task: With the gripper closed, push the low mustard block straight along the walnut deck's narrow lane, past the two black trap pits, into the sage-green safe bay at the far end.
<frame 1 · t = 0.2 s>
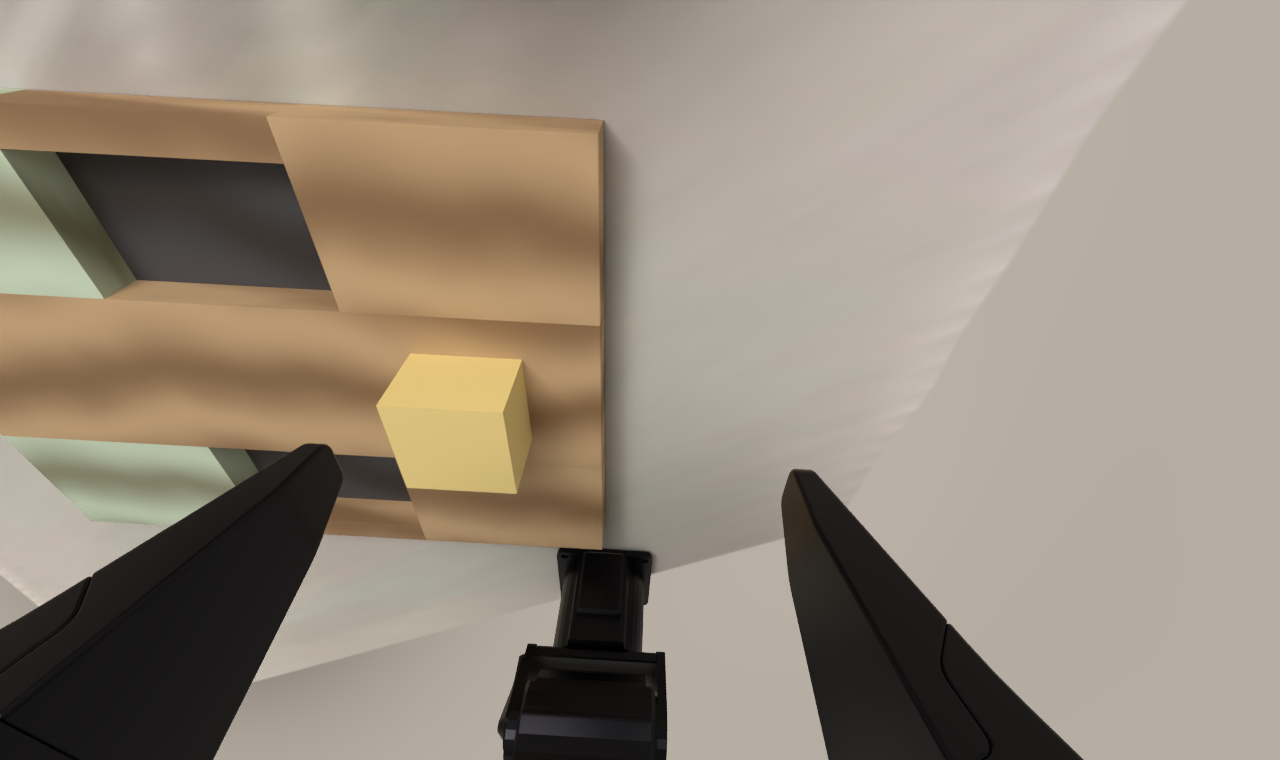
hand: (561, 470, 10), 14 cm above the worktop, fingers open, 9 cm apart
trap deck: (329, 364, 26), on the worktop
mustard block: (475, 398, 24), point 2 cm above the worktop, touching trap deck
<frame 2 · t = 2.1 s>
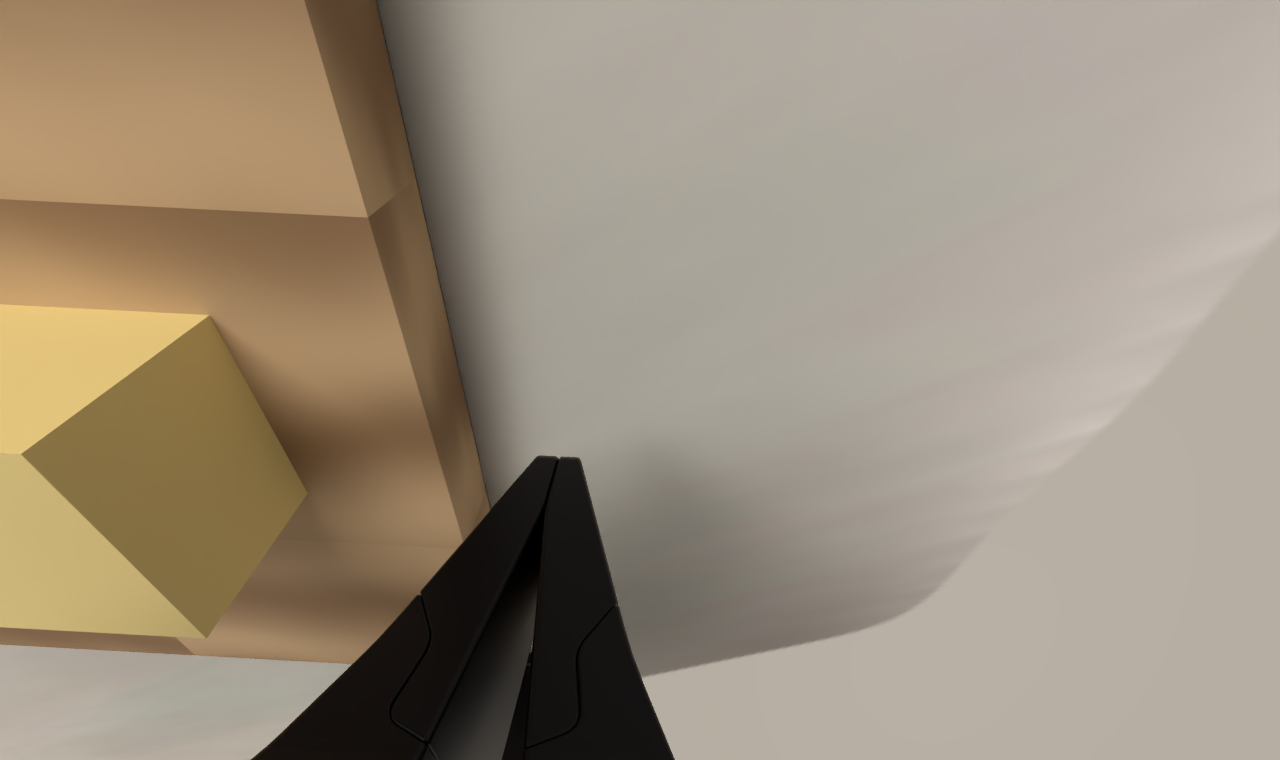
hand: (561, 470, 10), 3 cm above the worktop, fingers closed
mustard block: (149, 410, 11), point 2 cm above the worktop, touching trap deck
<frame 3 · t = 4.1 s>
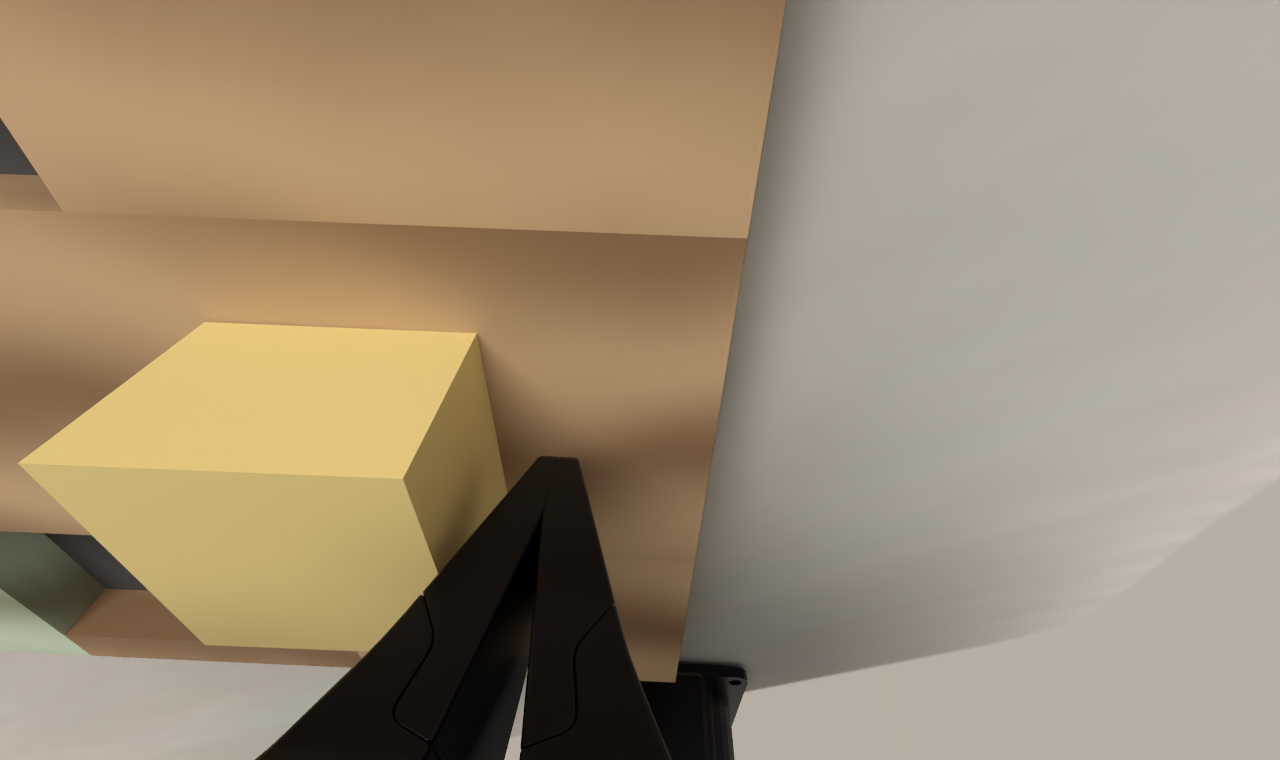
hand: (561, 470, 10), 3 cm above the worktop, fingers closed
trap deck: (138, 359, 13), on the worktop
mustard block: (378, 427, 11), point 2 cm above the worktop, touching gripper, trap deck
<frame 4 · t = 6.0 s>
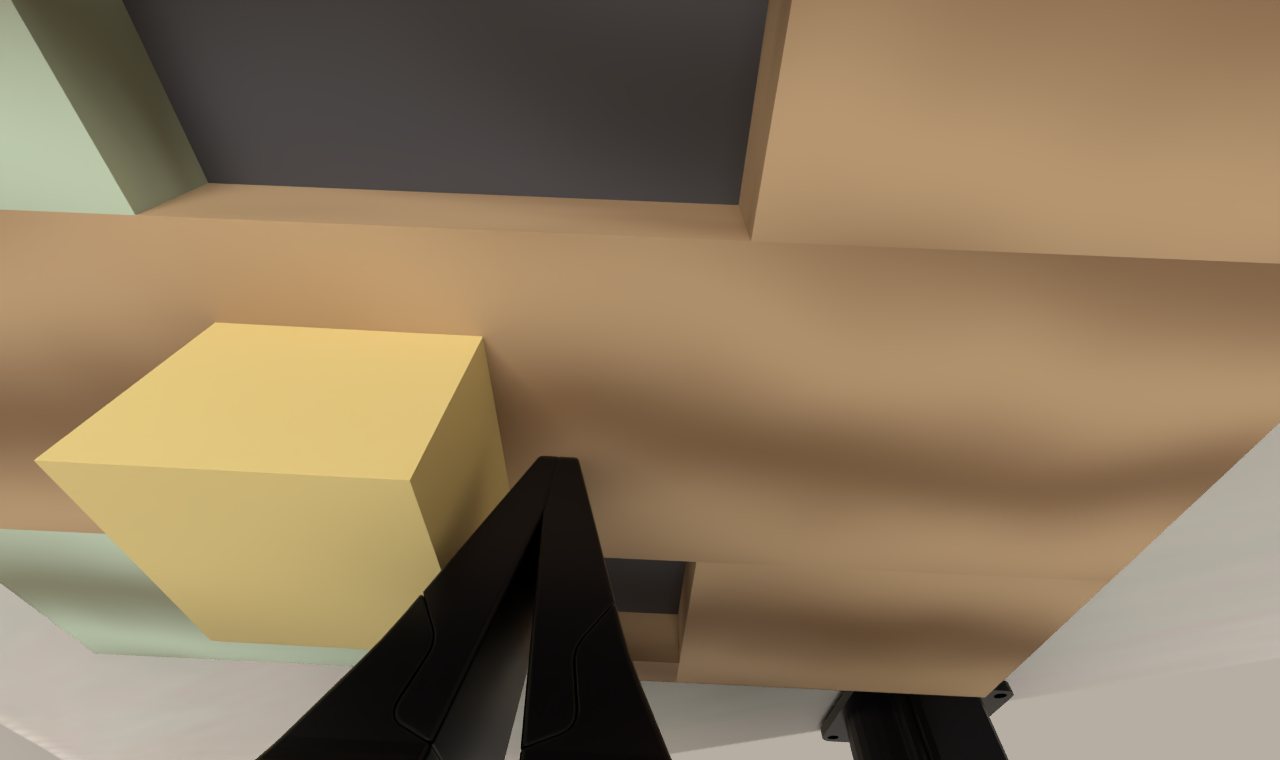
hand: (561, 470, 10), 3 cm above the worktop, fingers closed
trap deck: (588, 378, 13), on the worktop
mustard block: (384, 427, 11), point 2 cm above the worktop, touching gripper
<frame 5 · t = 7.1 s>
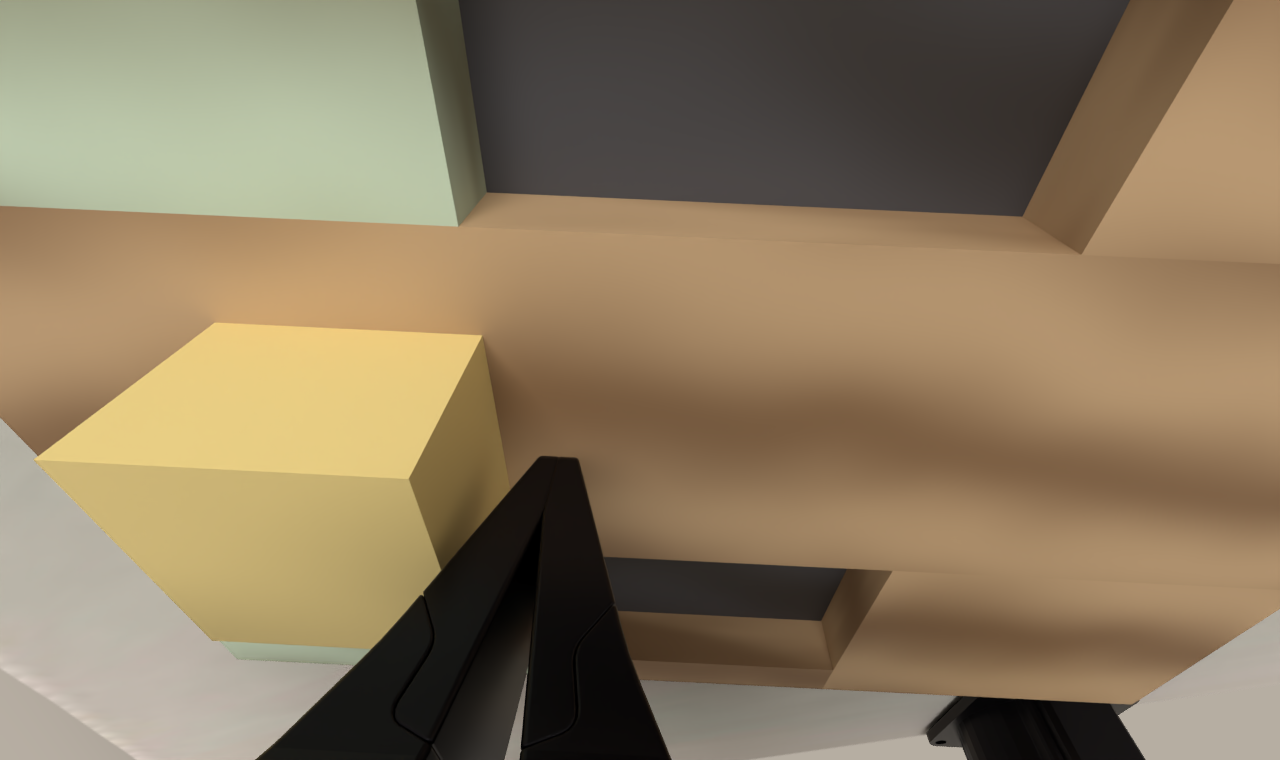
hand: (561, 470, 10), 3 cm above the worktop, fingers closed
trap deck: (802, 387, 13), on the worktop
mustard block: (384, 427, 11), point 2 cm above the worktop, touching gripper, trap deck
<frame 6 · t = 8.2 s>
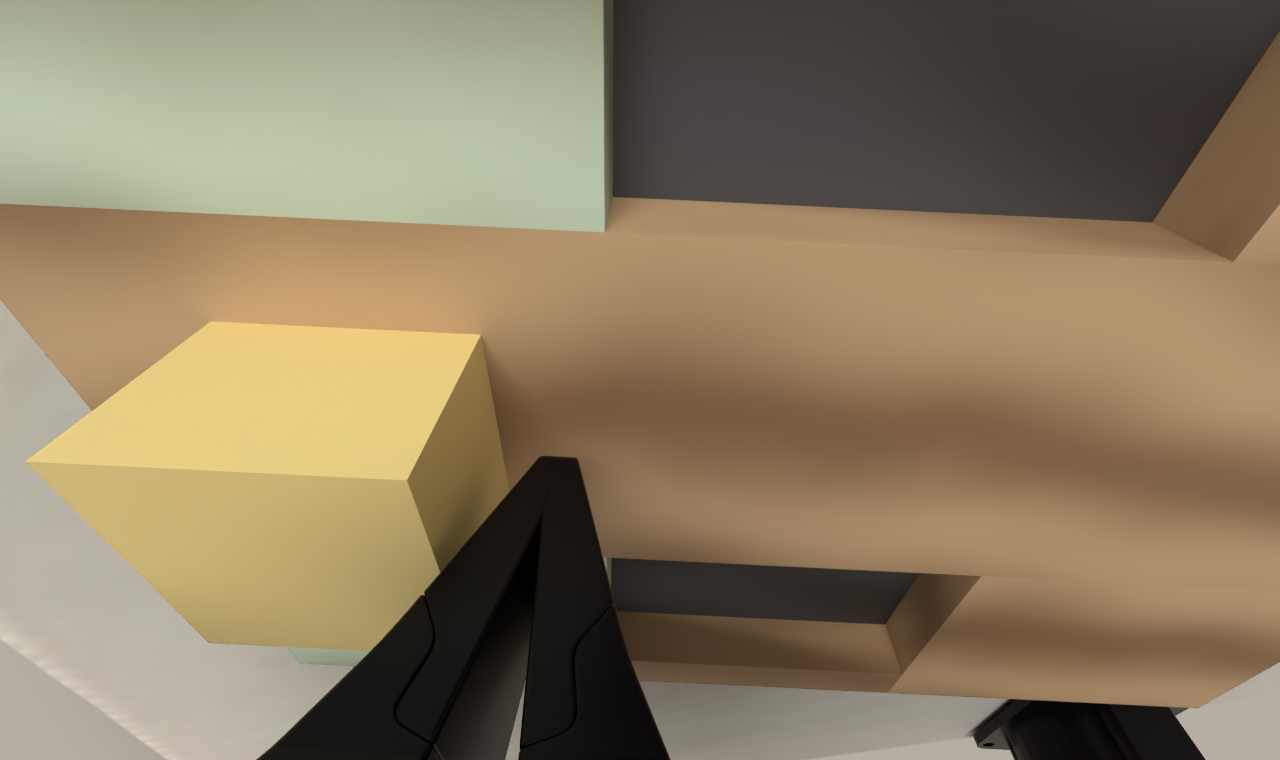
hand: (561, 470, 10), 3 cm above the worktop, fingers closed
trap deck: (899, 392, 13), on the worktop
mustard block: (382, 427, 11), point 2 cm above the worktop, touching gripper, trap deck
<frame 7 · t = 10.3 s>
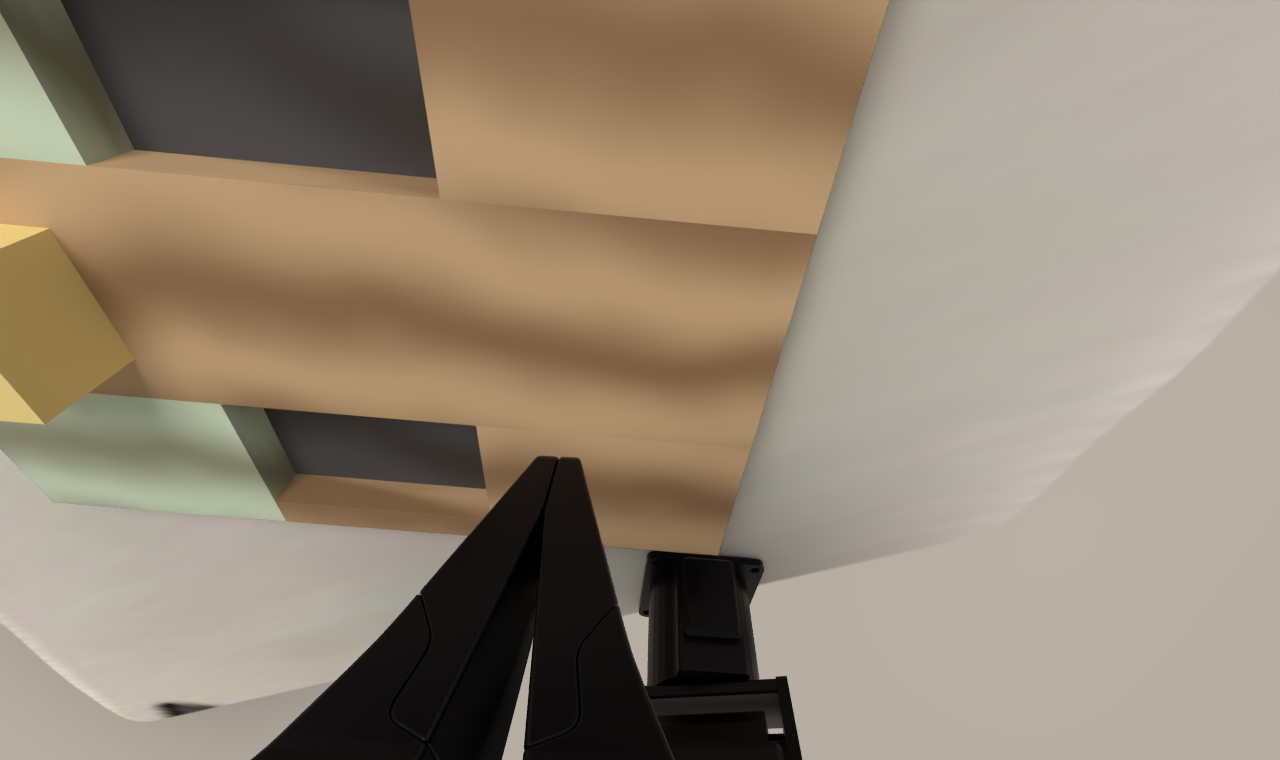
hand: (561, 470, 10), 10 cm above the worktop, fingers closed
trap deck: (396, 294, 19), on the worktop
mustard block: (20, 292, 17), point 2 cm above the worktop, touching trap deck
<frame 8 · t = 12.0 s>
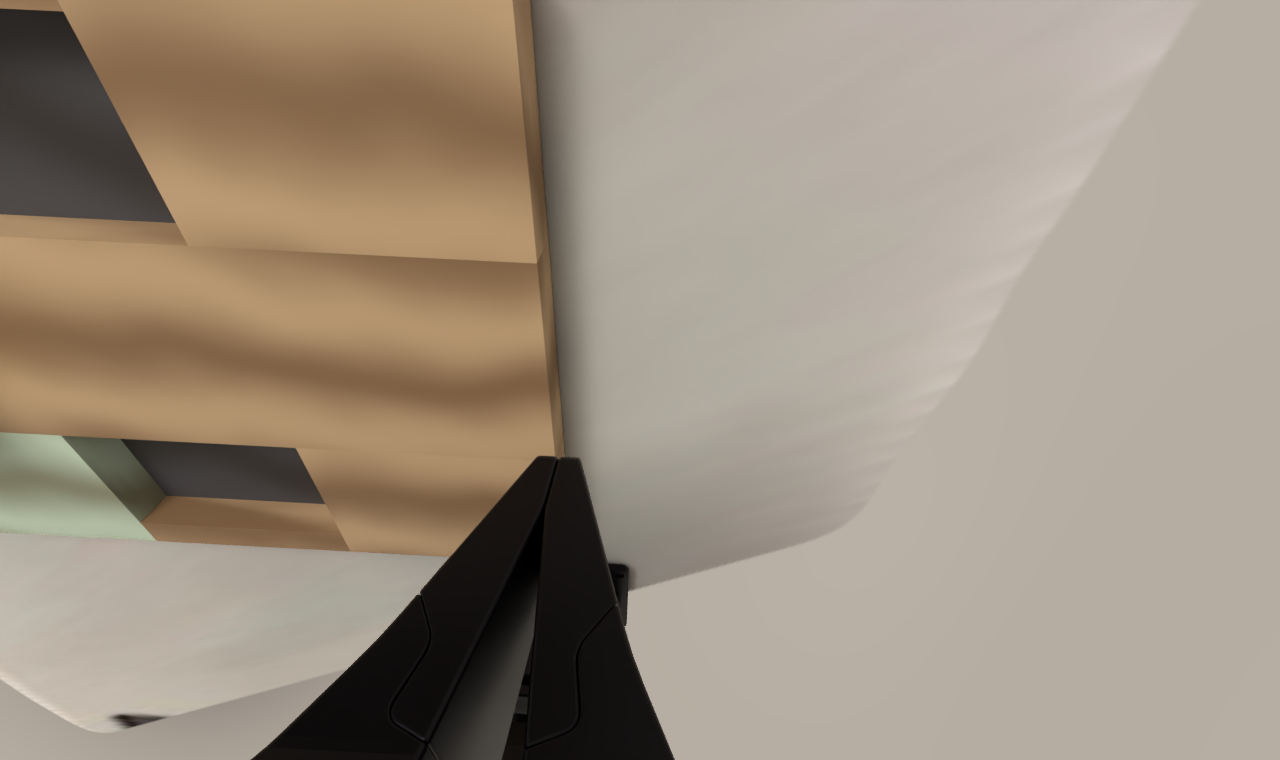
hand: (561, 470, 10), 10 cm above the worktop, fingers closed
trap deck: (206, 328, 21), on the worktop
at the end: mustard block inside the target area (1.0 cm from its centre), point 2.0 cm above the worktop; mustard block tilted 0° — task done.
